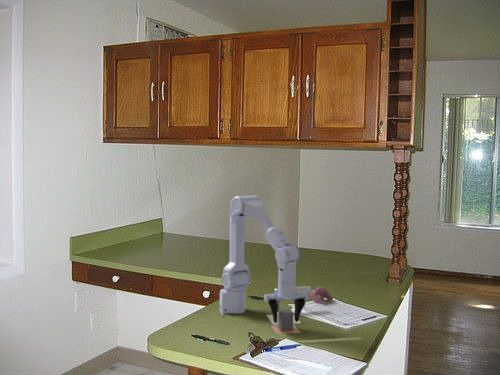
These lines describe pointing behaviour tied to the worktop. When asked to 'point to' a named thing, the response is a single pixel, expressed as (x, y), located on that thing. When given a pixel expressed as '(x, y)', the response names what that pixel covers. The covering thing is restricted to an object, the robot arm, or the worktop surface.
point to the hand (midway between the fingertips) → (285, 321)
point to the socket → (277, 315)
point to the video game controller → (320, 294)
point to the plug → (285, 320)
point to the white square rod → (299, 289)
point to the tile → (285, 331)
